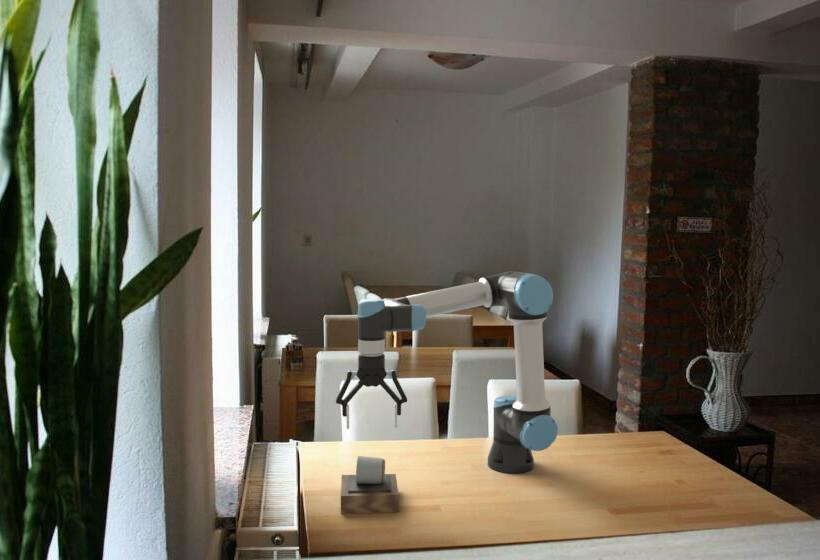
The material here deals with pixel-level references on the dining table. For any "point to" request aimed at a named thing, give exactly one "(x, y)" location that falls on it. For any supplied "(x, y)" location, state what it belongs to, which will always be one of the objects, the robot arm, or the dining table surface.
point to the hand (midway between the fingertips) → (371, 426)
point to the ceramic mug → (370, 470)
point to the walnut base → (369, 495)
